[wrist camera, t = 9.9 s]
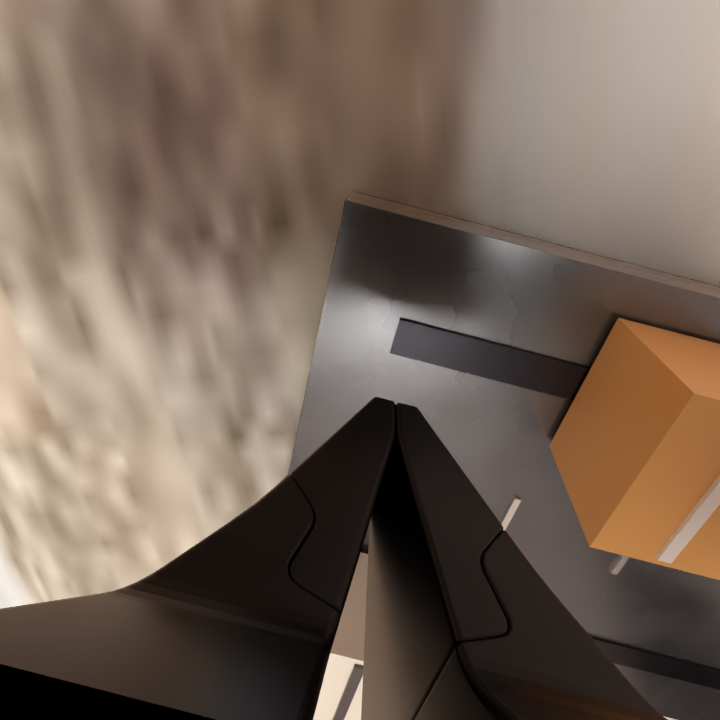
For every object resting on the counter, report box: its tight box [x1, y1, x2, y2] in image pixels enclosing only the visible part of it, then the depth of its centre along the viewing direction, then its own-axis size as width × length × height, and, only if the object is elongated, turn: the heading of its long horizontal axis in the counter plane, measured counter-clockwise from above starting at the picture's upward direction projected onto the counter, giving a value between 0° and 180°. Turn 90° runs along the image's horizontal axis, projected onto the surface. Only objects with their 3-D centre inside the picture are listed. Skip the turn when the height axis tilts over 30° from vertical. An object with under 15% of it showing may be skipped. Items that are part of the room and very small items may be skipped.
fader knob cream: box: [313, 552, 368, 720], centre depth 15 cm, size 3×4×4 cm
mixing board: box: [288, 191, 720, 720], centre depth 15 cm, size 22×16×2 cm
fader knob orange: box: [549, 318, 720, 580], centre depth 11 cm, size 3×4×4 cm
